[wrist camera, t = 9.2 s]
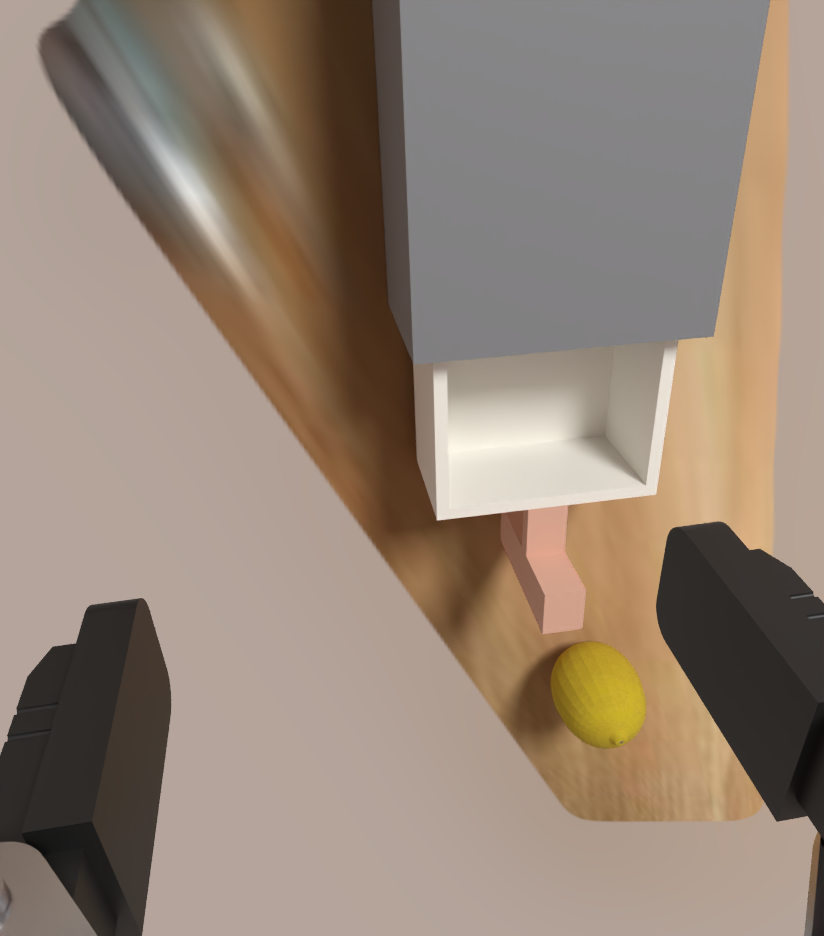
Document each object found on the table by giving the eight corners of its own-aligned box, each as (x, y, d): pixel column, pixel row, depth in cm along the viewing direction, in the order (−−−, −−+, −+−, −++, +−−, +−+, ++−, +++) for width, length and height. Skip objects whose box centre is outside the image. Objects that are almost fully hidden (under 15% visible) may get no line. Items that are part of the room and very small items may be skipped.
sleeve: (359, -225, 28) (387, -307, 21) (694, -227, 30) (821, -303, 23) (388, 304, 38) (413, 364, 31) (637, 283, 40) (713, 336, 33)
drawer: (402, 75, 32) (442, 89, 25) (649, 62, 34) (763, 72, 26) (419, 538, 44) (451, 647, 37) (602, 516, 46) (670, 616, 38)
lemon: (541, 687, 53) (580, 784, 47) (531, 629, 51) (572, 723, 44) (617, 666, 54) (668, 760, 47) (612, 607, 51) (665, 698, 44)
